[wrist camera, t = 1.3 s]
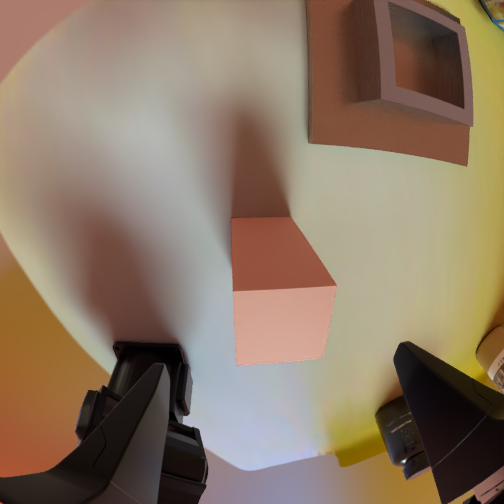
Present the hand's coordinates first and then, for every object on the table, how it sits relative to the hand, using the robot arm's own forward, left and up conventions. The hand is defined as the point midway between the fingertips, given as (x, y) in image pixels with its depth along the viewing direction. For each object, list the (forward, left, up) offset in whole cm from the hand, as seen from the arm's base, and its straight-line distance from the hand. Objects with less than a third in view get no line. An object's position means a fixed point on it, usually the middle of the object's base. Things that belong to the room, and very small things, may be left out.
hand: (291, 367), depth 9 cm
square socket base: (+10, +14, -11) cm, 21 cm away
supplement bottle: (+20, -26, -11) cm, 35 cm away
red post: (0, 0, -11) cm, 11 cm away
